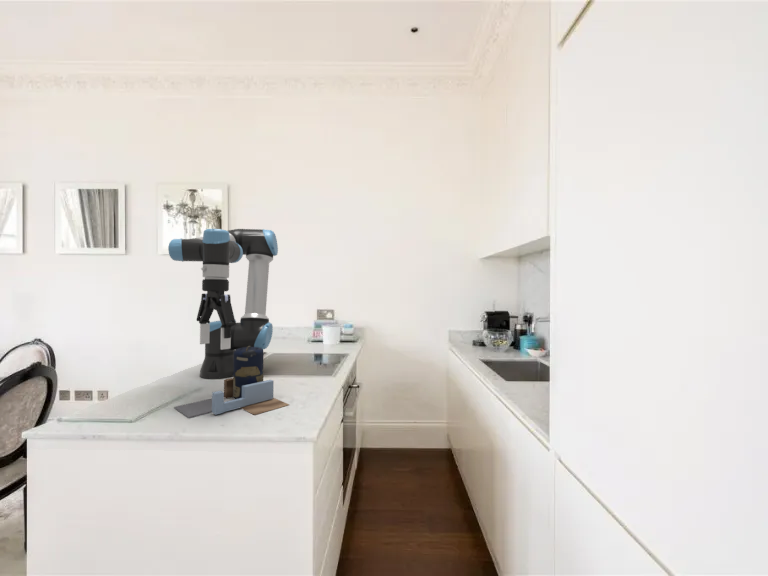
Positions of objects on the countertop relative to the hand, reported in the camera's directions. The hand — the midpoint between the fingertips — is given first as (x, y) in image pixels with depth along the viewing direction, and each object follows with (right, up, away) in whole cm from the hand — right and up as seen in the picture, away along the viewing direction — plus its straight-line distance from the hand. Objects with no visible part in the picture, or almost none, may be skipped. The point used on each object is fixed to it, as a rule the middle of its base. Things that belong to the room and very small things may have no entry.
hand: (214, 346), depth 107 cm
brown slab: (+10, -19, +6) cm, 23 cm away
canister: (+7, -19, +8) cm, 22 cm away
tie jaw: (+9, -19, +1) cm, 21 cm away
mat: (-4, -19, -1) cm, 19 cm away
